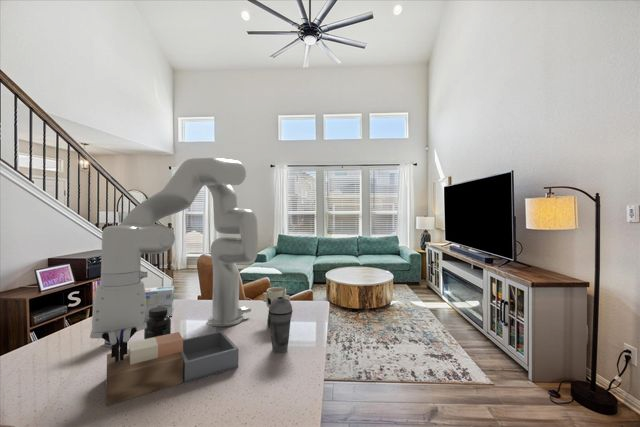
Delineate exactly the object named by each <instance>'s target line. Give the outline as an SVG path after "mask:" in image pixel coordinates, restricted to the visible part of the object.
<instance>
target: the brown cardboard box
mask: <svg viewBox="0 0 640 427" xmlns="http://www.w3.org/2000/svg"><path fill="white" fill-rule="evenodd" d="M183 358H184V357H183V355H182V353H181V352H179V353H175V354H171V355H167V356H162V357H158V358H155V359H151V360H147V361H143V362H139V363H135V364H131V365H130V360H129V348H127V354H125V355H124V360H122V361H121V360H120V350H119V361H118V362H115V357H112V358H111V352H110V353H107V354H106V384H105V385H106V388H105V406H106V407H107V406H110V405H114V404H117V403H120V402H122V401H126V400H130V399H133V398H136V397H139V396H143V395H146V394H150V393H153V392H156V391H159V390H162V389H166V388H169V387H172V386H176V385H179V384H183V383H184V381H183Z"/></svg>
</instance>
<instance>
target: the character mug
mask: <svg viewBox="0 0 640 427" xmlns="http://www.w3.org/2000/svg"><path fill="white" fill-rule="evenodd" d="M283 288H284V287H281V286H280V287H279V286H275V287H273V286H272V287H269V288H267V289H266V292H263V293H262V302H264V303H266V307H267V308H268V309H269V307H270V304H271V302H272V301H273V300H274V299H276V298H278V297H282V295H283ZM284 298H286V299H288V300H289V301H290V302H291V296H290V295H289V294H287V289H286V288H285V294H284ZM266 324H267V326H269V327H271V324H270V317H269V312H268V314H267V321H266Z"/></svg>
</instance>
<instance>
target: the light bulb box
mask: <svg viewBox="0 0 640 427" xmlns="http://www.w3.org/2000/svg"><path fill="white" fill-rule="evenodd" d="M174 286H175V285H169V286H157V287H145V296H146V320H147V319H149V317H148V315H149V310H150V309H152V308H156V307H167V312H168V314H167V316H172V317H173V315H174V309H175V308H174V307H175V305H174V304H175V299H174V298H175V293H174V292H175V287H174Z"/></svg>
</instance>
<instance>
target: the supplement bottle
mask: <svg viewBox="0 0 640 427" xmlns="http://www.w3.org/2000/svg"><path fill="white" fill-rule="evenodd" d="M167 314H168V312H167V307H156V308H152V309H150V310H149V315H148V317H149V319H146V324H147V328H145V329H143V330H144V331H143V335H144V337H143V339H148V338H153V337H157V336H162V335H167V334H172V331H171V330H172V320H171V317H168V316H167Z"/></svg>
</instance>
